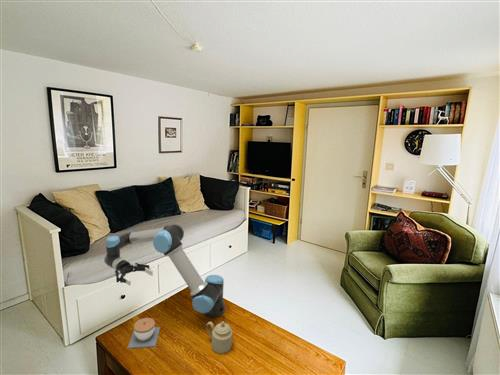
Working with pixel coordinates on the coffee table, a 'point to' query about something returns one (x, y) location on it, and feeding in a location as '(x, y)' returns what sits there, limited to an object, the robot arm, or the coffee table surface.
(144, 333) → the lidded jar
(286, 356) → the coffee table surface
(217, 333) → the beige teapot
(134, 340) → the slate mat
